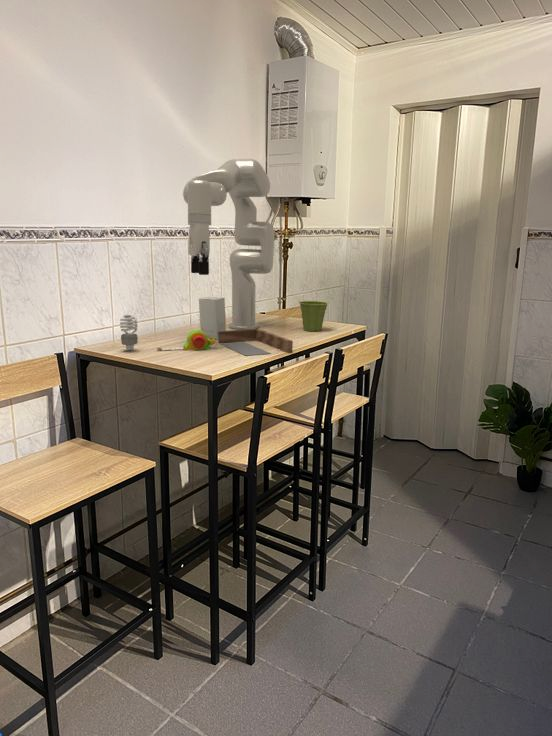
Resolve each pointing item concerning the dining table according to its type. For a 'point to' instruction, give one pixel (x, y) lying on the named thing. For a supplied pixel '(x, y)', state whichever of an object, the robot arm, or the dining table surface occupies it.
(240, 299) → the robot arm
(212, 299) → the skincare box
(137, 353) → the dining table surface
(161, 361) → the dining table surface
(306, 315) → the plant pot
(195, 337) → the toy measuring tape
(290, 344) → the wall
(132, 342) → the light bulb
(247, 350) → the mat
